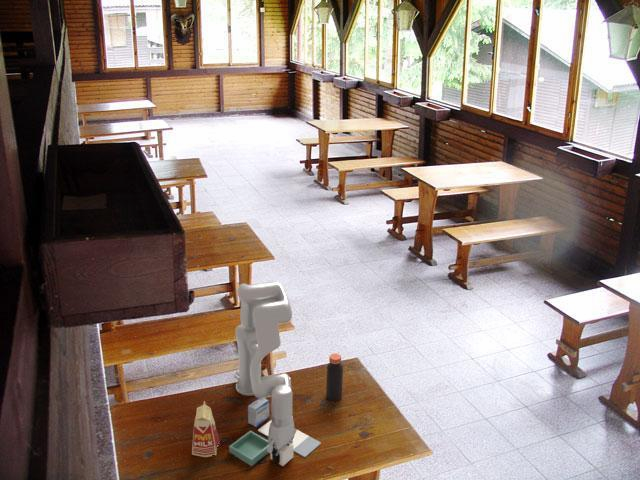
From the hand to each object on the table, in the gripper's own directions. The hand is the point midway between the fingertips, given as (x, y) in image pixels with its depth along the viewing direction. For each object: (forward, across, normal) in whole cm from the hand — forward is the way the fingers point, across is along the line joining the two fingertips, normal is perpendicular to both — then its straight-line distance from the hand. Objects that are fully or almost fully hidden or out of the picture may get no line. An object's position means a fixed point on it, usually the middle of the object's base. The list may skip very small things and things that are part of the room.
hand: (281, 456), depth 238 cm
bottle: (+2, -43, -8) cm, 44 cm away
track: (+1, -11, -6) cm, 12 cm away
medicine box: (+2, -11, -22) cm, 24 cm away
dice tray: (+1, +4, -12) cm, 13 cm away
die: (+1, 0, 0) cm, 1 cm away
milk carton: (+2, +14, -26) cm, 29 cm away
